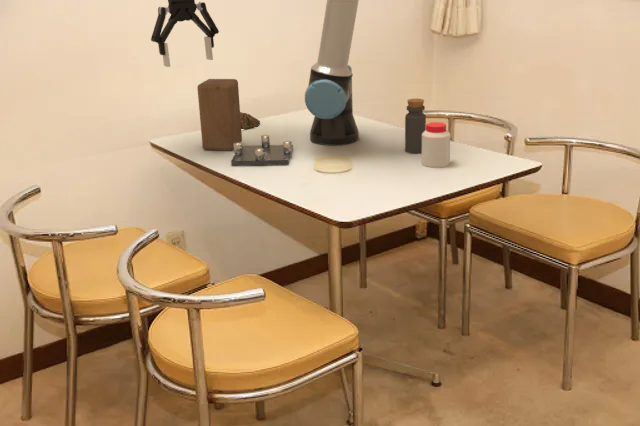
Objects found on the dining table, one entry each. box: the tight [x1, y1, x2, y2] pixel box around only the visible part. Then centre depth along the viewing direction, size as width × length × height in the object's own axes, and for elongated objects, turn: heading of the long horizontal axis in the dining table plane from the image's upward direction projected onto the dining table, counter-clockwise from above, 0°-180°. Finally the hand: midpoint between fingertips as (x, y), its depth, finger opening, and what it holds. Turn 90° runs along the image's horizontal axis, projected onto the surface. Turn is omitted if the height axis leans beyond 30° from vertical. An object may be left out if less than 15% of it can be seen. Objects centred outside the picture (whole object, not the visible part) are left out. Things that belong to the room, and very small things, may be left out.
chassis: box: [230, 134, 294, 167], centre depth 225 cm, size 17×17×4 cm
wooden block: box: [196, 78, 243, 151], centre depth 235 cm, size 10×10×20 cm
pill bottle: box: [420, 121, 451, 169], centre depth 213 cm, size 8×8×11 cm
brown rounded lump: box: [240, 111, 261, 130], centre depth 262 cm, size 13×12×5 cm
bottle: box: [404, 98, 427, 155], centre depth 224 cm, size 6×6×15 cm
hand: (188, 62), depth 227 cm, fingers open, 13 cm apart
